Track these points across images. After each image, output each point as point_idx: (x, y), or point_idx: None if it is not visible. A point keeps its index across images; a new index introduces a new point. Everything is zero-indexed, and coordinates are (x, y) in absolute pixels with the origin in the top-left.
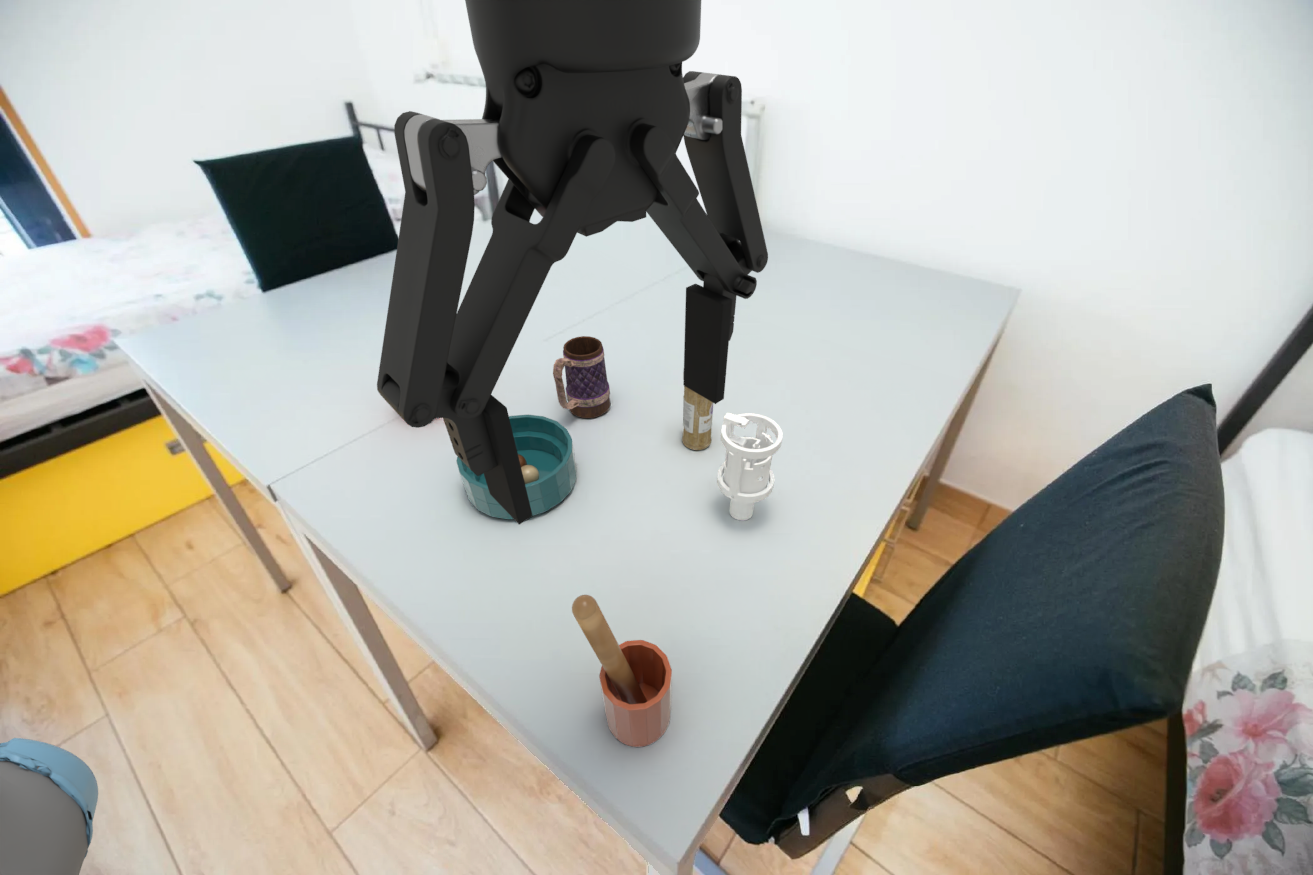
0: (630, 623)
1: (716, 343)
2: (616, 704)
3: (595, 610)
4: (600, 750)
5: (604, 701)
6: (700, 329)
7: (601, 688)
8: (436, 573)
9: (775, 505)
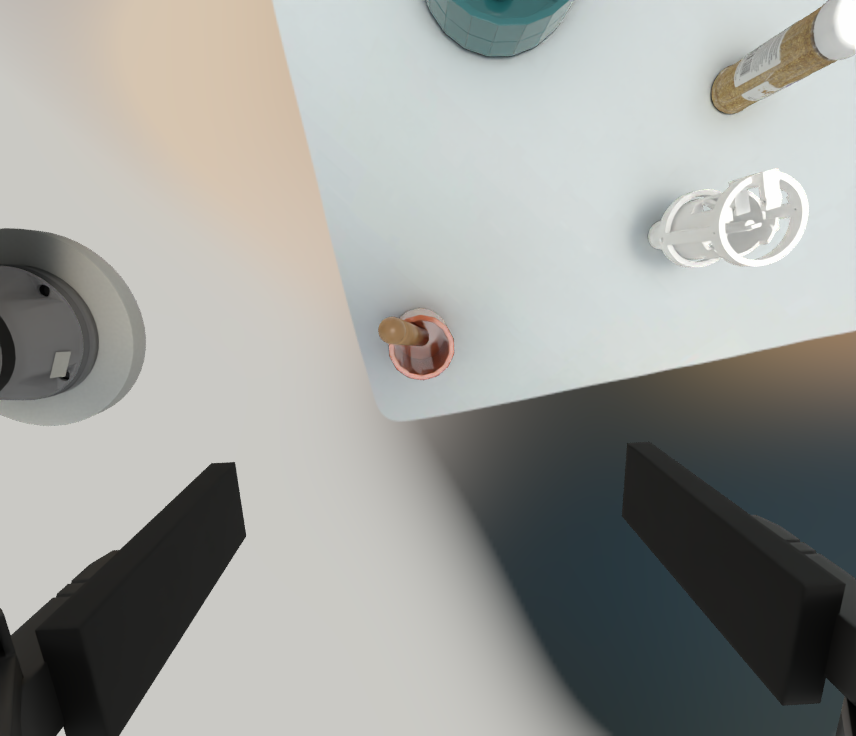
0: (468, 263)
1: (700, 598)
2: (391, 358)
3: (398, 342)
4: (378, 338)
5: None
6: (717, 564)
7: None
8: (336, 49)
9: None
